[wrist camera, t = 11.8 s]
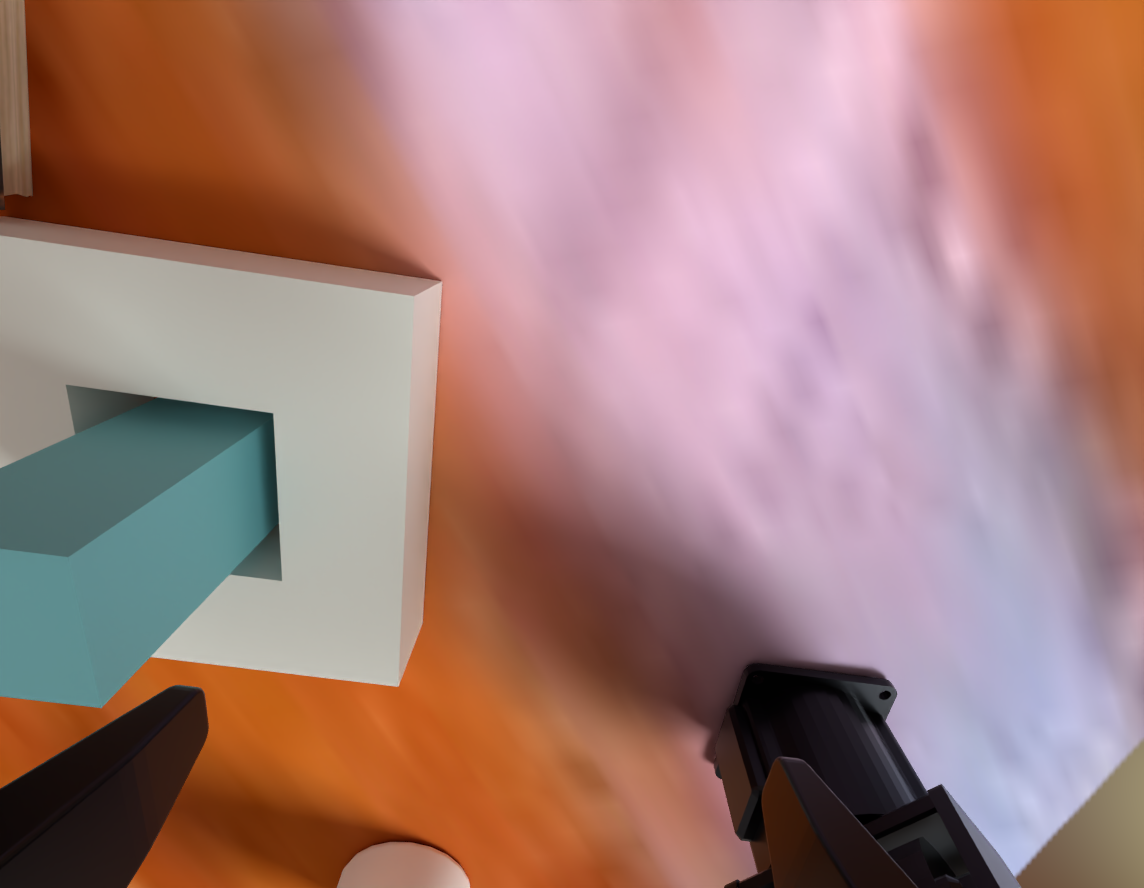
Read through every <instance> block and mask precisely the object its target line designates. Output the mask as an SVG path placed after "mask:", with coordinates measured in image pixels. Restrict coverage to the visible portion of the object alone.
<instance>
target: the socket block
mask: <svg viewBox="0 0 1144 888" xmlns="http://www.w3.org/2000/svg"><path fill="white" fill-rule="evenodd" d="M441 297H442V281H437V280H431V279H424V278H417V277H411V276H404V275H397V274H390V273H384V272H377V271H370V270H363V269H357V268H350V267H343V266H336V265H330V264H323V263H316V262H309V261H303V260H296V259H289V258H283V257H276V256H269V255H262V254H256V253H249V252H242V251H235V250H229V249H222V248H215V247H208V246H202V245H195V244H188V243H181V242H175V241H168V240H161V239H155V238H148V237H141V236H134V235H128V234H121V233H114V232H107V231H101V230H94V229H87V228H80V227H74V226H67V225H60V224H53V223H47V222H40V221H33V220H26V219H20V218H13V217H6V216H0V468H2V467H4V466H6V465H9V464H11V463H13V462H15V461H18V460H20V459H22V458H24V457H26V456H29V455H31V454H33V453H35V452H38V451H40V450H42V449H44V448H46V447H49V446H51V445H53V444H55V443H58V442H60V441H62V440H64V439H67V438H69V437H71V436H73V435H75V434H78V433H80V432H82V431H84V430H87V429H89V428H91V427H93V426H95V425H98V424H100V423H102V422H104V421H107V420H109V419H111V418H113V417H116V416H118V415H120V414H122V413H124V412H127V411H129V410H131V409H133V408H136V407H138V406H140V405H142V404H144V403H147V402H149V401H151V400H153V399H154V397H160V398H167V399H174V400H181V401H189V402H196V403H203V404H210V405H218V406H225V407H232V408H239V409H247V410H254V411H261V412H268V413H273V417H274V436H275V455H276V474H277V493H278V512H279V523H278V524H277V525H276V527H275V528H274V529H273V530H272V531H271V532H270V533H269V534H268V535H267V536H266V537H265V538H264V539H263V540H262V541H261V542H260V543H259V544H258V545H257V546H256V547H255V548H254V549H253V550H252V552H251V553H250V554H249V555H248V556H247V557H246V558H245V559H244V560H243V561H242V562H241V563H240V564H239V565H238V566H237V567H236V568H235V569H234V570H233V571H232V572H231V573H230V574H229V576H228V577H227V578H226V579H225V580H224V581H223V582H222V583H221V584H220V585H219V586H218V587H217V588H216V589H215V590H214V591H213V592H212V593H211V594H210V595H209V596H208V597H207V598H206V599H205V601H204V602H203V603H202V604H201V605H200V606H199V607H198V608H197V609H196V610H195V611H194V612H193V613H192V614H191V615H190V616H189V617H188V618H187V619H186V620H185V621H184V622H183V623H182V624H181V626H180V627H179V628H178V629H177V630H176V631H175V632H174V633H173V634H172V635H171V636H170V637H169V638H168V639H167V640H166V641H165V642H164V643H163V644H162V645H161V646H160V647H159V648H158V649H157V651H156V652H155V653H154V654H153V655H152V656H151V657H156V658H164V659H172V660H181V661H189V662H197V663H206V664H214V665H222V666H231V667H239V668H247V669H255V670H264V671H272V672H280V673H289V674H297V675H305V676H314V677H322V678H330V679H339V680H347V681H355V682H363V683H372V684H380V685H388V686H397V687H398V686H399V684H400V681H401V678H402V676H403V673H404V671H405V668H406V665H407V663H408V660H409V658H410V655H411V652H412V650H413V647H414V644H415V642H416V639H417V637H418V634H419V631H420V629H421V626H422V623H423V609H424V591H425V574H426V557H427V539H428V522H429V505H430V487H431V470H432V453H433V435H434V418H435V401H436V383H437V366H438V349H439V331H440V314H441Z"/></svg>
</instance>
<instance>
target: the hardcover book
mask: <svg viewBox="0 0 1144 888" xmlns="http://www.w3.org/2000/svg"><path fill="white" fill-rule="evenodd" d="M12 194H18V195H21V196H25V197H28V196H33V188H32V165H31V142H30V119H29V96H28V73H27V50H26V27H25V4H24V0H0V210H5V202H4V196H7V195H12Z"/></svg>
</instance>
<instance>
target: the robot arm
mask: <svg viewBox="0 0 1144 888" xmlns="http://www.w3.org/2000/svg"><path fill="white" fill-rule="evenodd" d="M756 675H760V676H758V677H754V676H756ZM883 691H884V692H883ZM896 696H897V692H896V689H895V688H894V686H893V685H892V683H891V682H890V681H889V680H885V679H879V678H871V677H863V676H855V675H847V674H839V673H831V672H823V671H815V670H807V669H799V668H791V667H783V666H775V665H767V664H759V663H757V664H751V665H749V666H748V667H746V669H745V670H744V673H743V676H742V679H741V682H740V685H739V688H738V691H737V694H736V697H735V700H734V703H733V705H731V706H730V707H729V708H728V709H727V712H726V715H725V718H724V721H723V724H722V727H721V730H720V733H719V736H718V740H717V743H716V746H715V753H716V758H715V761H714V769H715V773H716V776H717V777H718V778H720V779H722V781H723V785H724V790H725V794H726V798H727V802H728V806H729V810H730V814H731V818H732V822H733V826H734V830H735V833H736V835H737V836H738V837H739V839H740V840H741V841H749V842H750V846H751V850H752V853H753V857H754V861H755V865H756V868H757V872H758V874H755V875H753V876H751V877H749V878H747V879H745V880H743V881H739V880H735V881H733V882H731V883H729V884H727V885H725V886H724V888H1021V887H1020V885H1019V884H1018V882H1017V880H1016V879H1015V877H1014V876H1013V874H1012V873H1011V872H1010V870H1009V869H1008V867H1007V866H1006V864H1005V863H1004V861H1003V860H1002V858H1001V857H1000V855H999V854H998V853H997V852H996V850H995V849H994V848H993V847H992V845H991V844H990V843H989V842H988V840H987V839H986V838H985V837H984V836H983V834H982V833H981V832H980V831H979V829H978V828H977V827H976V826H975V824H974V823H973V822H972V821H971V820H970V818H969V817H968V816H967V815H966V813H965V812H964V811H963V810H962V808H961V807H960V806H959V805H958V804H957V802H956V801H955V800H954V799H953V797H952V796H951V795H950V794H949V792H948V791H947V790H946V789H945V788H944V786H943V785H942V784H940V785H938V786H936V787H934V788H932V789H930V790H928V791H926V789H925V788H924V786H923V784H922V783H921V781H920V779H919V778H918V776H917V774H916V772H915V771H914V769H913V767H912V766H911V764H910V762H909V761H908V759H907V757H906V756H905V754H904V752H903V750H902V749H901V747H900V745H899V744H898V742H897V740H896V739H895V737H894V735H893V734H892V732H891V730H890V728H889V727H888V725H887V723H886V722H885V720H886V718H887V716H888V714H889V712H890V709H891V707H892V705H893V703H894V701H895V699H896ZM208 728H209V724H208V716H207V708H206V700H205V694H204V691H203V690H202V689H201V688H199V687H191V686H183V685H175V686H172V687H169V688H167V689H166V690H164V691H162V692H161V693H159V694H157V695H156V696H154V697H152V698H151V699H149V700H147V701H146V702H144V703H142V704H141V705H139V706H137V707H136V708H134V709H132V710H131V711H129V712H127V713H126V714H124V715H122V716H121V717H119V718H117V719H116V720H114V721H112V722H111V723H109V724H107V725H106V726H104V727H102V728H101V729H99V730H97V731H96V732H94V733H92V734H91V735H89V736H87V737H86V738H84V739H82V740H81V741H79V742H77V743H76V744H74V745H72V746H71V747H69V748H67V749H66V750H64V751H62V752H61V753H59V754H57V755H56V756H54V757H52V758H51V759H49V760H47V761H46V762H44V763H42V764H41V765H39V766H37V767H36V768H34V769H32V770H31V771H29V772H27V773H26V774H24V775H22V776H21V777H19V778H17V779H16V780H14V781H12V782H11V783H9V784H7V785H6V786H4V787H2V788H1V789H0V888H127V887H128V885H129V883H130V882H131V880H132V879H133V877H134V875H135V874H136V872H137V871H138V869H139V867H140V866H141V864H142V862H143V861H144V859H145V857H146V856H147V854H148V852H149V851H150V849H151V847H152V845H153V843H154V841H155V840H156V838H157V836H158V834H159V832H160V830H161V828H162V826H163V824H164V822H165V820H166V818H167V816H168V814H169V812H170V810H171V808H172V806H173V805H174V803H175V801H176V799H177V797H178V795H179V793H180V791H181V789H182V787H183V785H184V783H185V781H186V779H187V777H188V775H189V773H190V771H191V769H192V767H193V765H194V763H195V761H196V759H197V757H198V755H199V753H200V751H201V749H202V747H203V745H204V743H205V741H206V738H207V734H208ZM927 792H928V793H927Z"/></svg>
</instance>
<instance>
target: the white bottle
mask: <svg viewBox="0 0 1144 888" xmlns="http://www.w3.org/2000/svg"><path fill="white" fill-rule="evenodd" d="M337 888H470V883H469V879H468V877H467V875H466V873H465V872H464V870H463V868H462V867H461V865H459V864H458V863H457V862H456V861H455V860H453V859H452V858H451V857H450V856H449V855H447V854H445V853H443V852H441V851H439V850H436V849H434V848H432V847H430V846H425V845H421V844H416V843H412V842H387V843H382V844H378V845H373V846H370V847H368V848H366V849H365V850H363V851H361V852H359V853H357V854H356V855H355V856H354V857H353V858H352V860H351V861H350V862H349V863H348V864H347V865H346V866H345V868H344V869H343V871H342V874H341V877H340V880H339V882H338V885H337Z"/></svg>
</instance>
